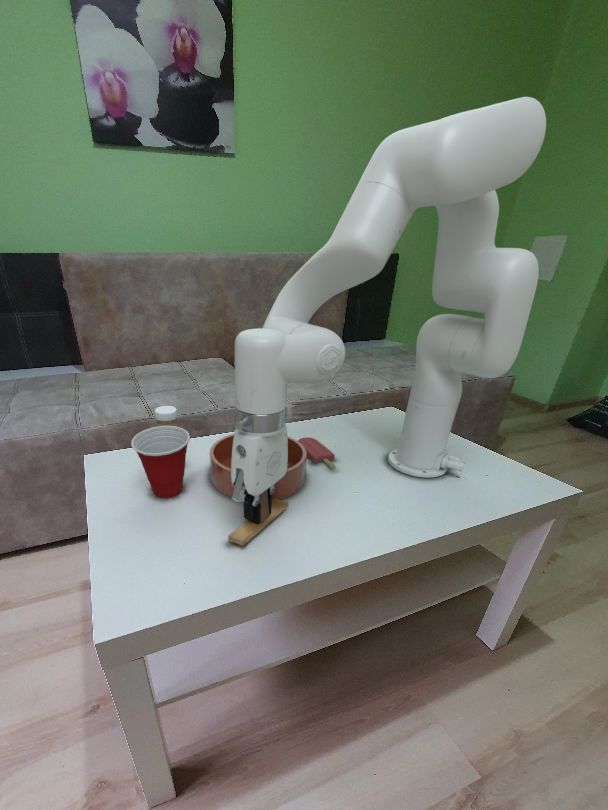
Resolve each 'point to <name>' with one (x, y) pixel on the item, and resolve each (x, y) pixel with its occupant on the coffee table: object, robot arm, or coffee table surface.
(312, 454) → the popsicle
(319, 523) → the coffee table surface
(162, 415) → the sprinkles bottle
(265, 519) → the stirrer
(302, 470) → the bowl
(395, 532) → the coffee table surface
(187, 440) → the plastic cup
